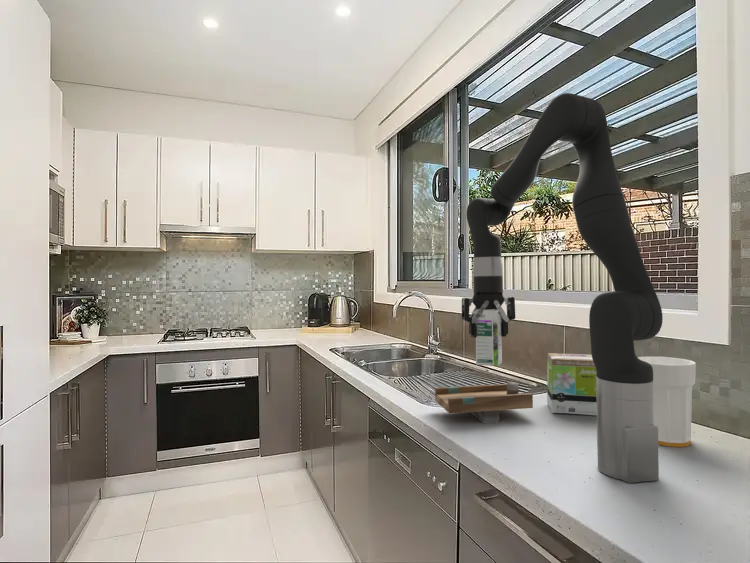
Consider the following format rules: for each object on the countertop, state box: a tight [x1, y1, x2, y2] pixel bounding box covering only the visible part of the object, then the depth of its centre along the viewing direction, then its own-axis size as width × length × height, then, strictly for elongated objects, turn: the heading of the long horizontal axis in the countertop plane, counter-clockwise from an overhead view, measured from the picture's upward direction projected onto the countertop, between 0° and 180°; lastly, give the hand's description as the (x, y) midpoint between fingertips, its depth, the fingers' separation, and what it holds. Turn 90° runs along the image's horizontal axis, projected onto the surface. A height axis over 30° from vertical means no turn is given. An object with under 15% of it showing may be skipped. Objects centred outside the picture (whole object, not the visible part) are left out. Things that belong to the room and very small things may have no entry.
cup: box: [638, 355, 697, 448], centre depth 100 cm, size 11×11×17 cm
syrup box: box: [475, 309, 503, 367], centre depth 120 cm, size 6×6×14 cm
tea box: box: [546, 352, 597, 417], centre depth 123 cm, size 15×10×15 cm, turn 76°
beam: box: [434, 381, 534, 424], centre depth 120 cm, size 12×22×8 cm, turn 99°
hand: (488, 336), depth 120 cm, fingers closed on syrup box, 7 cm apart
